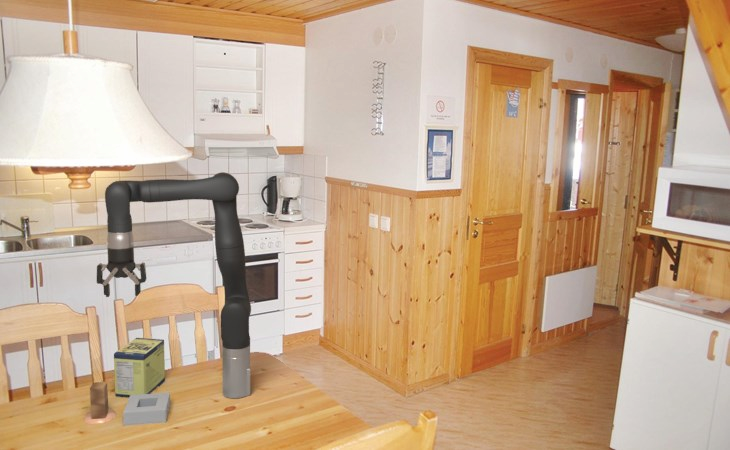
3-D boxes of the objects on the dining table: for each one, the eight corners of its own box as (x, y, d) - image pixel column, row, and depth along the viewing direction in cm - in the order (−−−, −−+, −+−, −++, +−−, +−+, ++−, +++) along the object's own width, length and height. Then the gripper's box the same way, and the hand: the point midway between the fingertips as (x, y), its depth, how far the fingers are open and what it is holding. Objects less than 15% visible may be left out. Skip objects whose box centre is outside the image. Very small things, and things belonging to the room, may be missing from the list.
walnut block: (108, 412, 177) (107, 381, 175) (105, 418, 173) (104, 387, 171) (94, 412, 176) (93, 382, 175) (91, 419, 172) (89, 388, 171)
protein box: (165, 380, 202) (164, 338, 200) (144, 400, 187) (143, 355, 184) (137, 378, 203) (136, 337, 201) (114, 398, 188) (112, 353, 185)
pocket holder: (170, 405, 184) (169, 392, 183) (165, 423, 172) (165, 410, 172) (130, 408, 181) (130, 395, 181) (123, 427, 170) (123, 413, 169)
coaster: (118, 409, 180) (118, 407, 180) (112, 423, 171) (112, 421, 171) (88, 412, 178) (87, 409, 178) (80, 426, 169) (80, 423, 169)
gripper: (146, 242, 182) (148, 291, 184) (98, 243, 179) (100, 293, 181) (142, 247, 174) (144, 298, 177) (92, 248, 171) (95, 300, 174)
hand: (122, 295), depth 179 cm, fingers open, 8 cm apart
